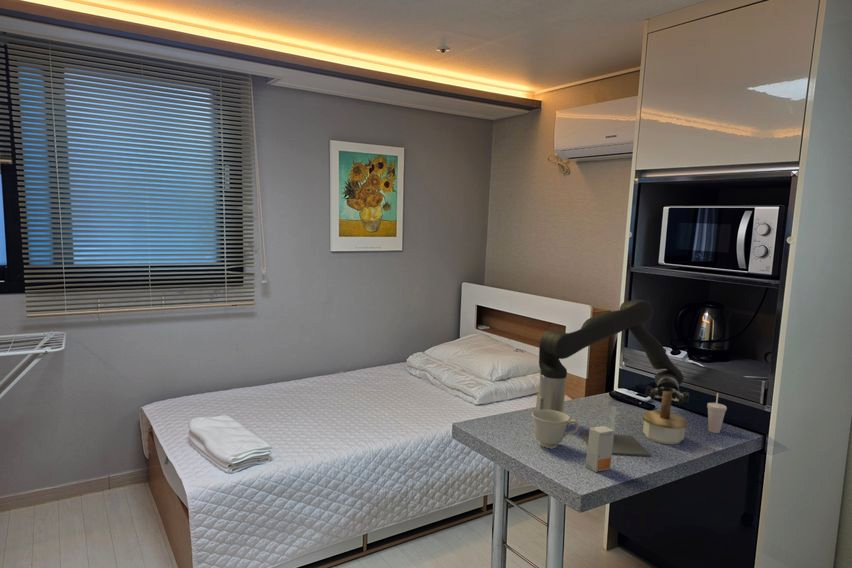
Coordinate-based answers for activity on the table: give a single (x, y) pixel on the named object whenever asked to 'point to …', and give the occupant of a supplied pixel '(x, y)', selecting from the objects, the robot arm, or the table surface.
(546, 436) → the teacup
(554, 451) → the table surface
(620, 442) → the mat
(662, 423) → the lid
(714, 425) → the smoothie
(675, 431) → the bowl
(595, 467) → the skincare box
